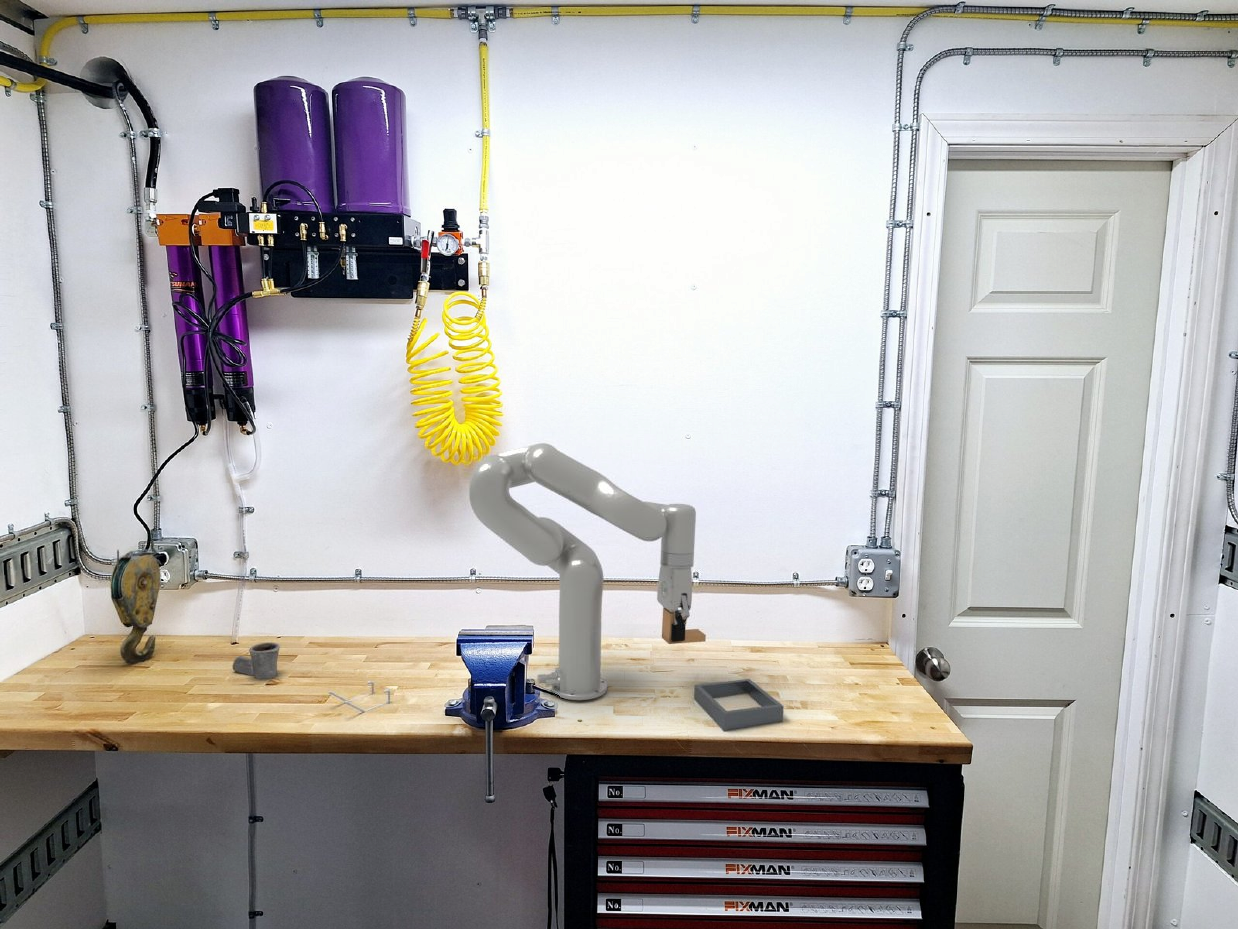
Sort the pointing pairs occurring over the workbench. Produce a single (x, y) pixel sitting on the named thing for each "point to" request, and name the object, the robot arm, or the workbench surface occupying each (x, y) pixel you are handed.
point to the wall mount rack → (362, 696)
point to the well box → (742, 717)
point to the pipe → (259, 661)
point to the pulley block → (136, 599)
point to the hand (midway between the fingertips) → (673, 636)
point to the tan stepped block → (690, 634)
